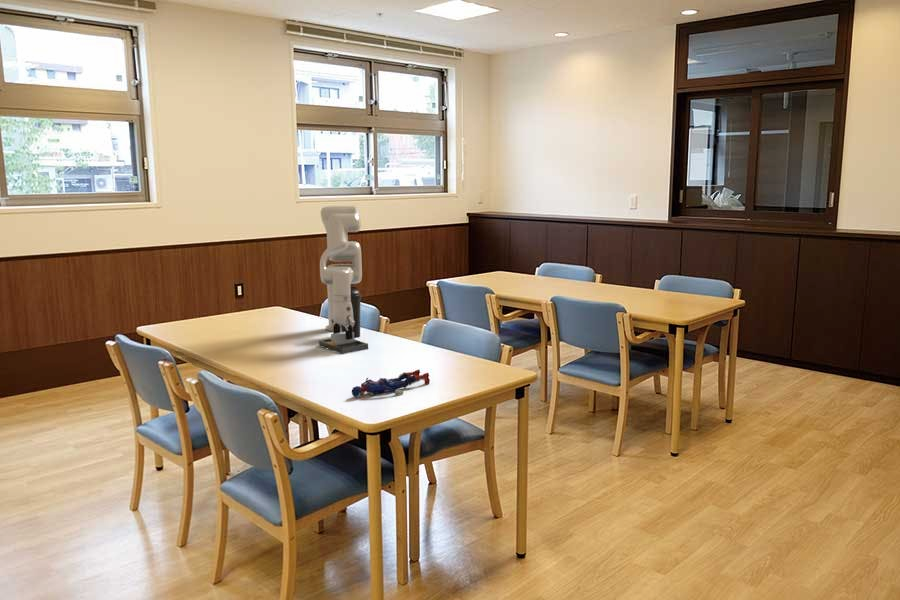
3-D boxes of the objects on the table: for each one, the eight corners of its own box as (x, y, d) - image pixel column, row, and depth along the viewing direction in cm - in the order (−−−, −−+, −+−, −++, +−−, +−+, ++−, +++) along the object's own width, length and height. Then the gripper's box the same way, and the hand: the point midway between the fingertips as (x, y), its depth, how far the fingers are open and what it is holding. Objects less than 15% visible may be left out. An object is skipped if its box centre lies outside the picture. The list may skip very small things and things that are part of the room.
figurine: (411, 378, 255) (341, 394, 236) (411, 363, 254) (340, 378, 235) (436, 387, 244) (364, 405, 225) (436, 371, 243) (364, 388, 224)
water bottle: (335, 337, 319) (334, 288, 315) (347, 332, 328) (345, 285, 324) (355, 339, 315) (353, 289, 311) (366, 334, 324) (364, 286, 320)
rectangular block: (349, 343, 304) (349, 330, 303) (354, 344, 302) (354, 332, 301) (331, 346, 298) (331, 334, 297) (335, 348, 296) (335, 335, 295)
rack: (344, 341, 311) (343, 334, 311) (368, 348, 297) (368, 342, 297) (318, 345, 303) (318, 339, 302) (342, 353, 289) (342, 347, 288)
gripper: (360, 300, 293) (361, 339, 296) (338, 294, 305) (339, 332, 309) (345, 302, 288) (346, 342, 291) (323, 296, 300) (324, 334, 304)
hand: (342, 337), depth 300 cm, fingers open, 9 cm apart
